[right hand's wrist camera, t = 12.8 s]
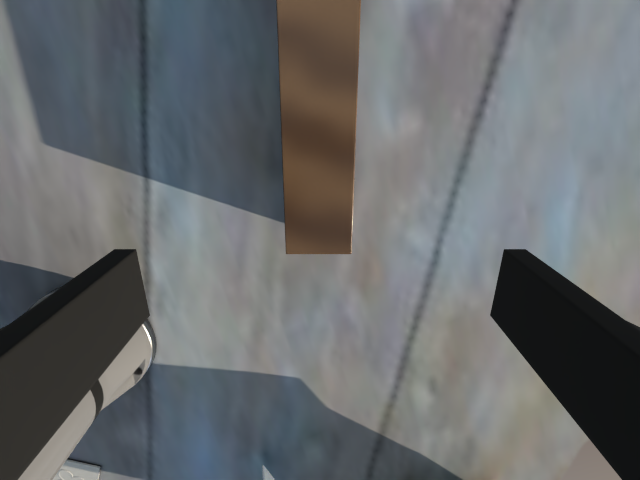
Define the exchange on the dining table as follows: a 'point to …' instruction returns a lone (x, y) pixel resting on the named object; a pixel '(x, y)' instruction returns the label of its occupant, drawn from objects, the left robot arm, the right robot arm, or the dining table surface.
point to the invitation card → (77, 471)
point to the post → (318, 121)
